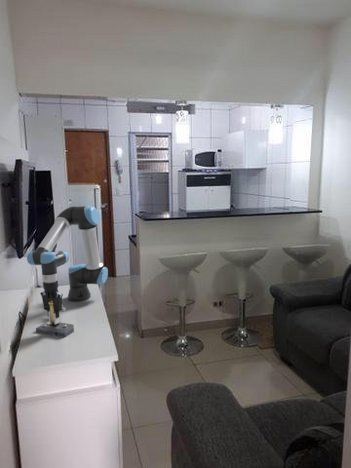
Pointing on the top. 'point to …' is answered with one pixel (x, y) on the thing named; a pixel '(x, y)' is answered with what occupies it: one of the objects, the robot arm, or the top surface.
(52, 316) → the pin
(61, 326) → the square socket block
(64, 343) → the top surface
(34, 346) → the top surface
